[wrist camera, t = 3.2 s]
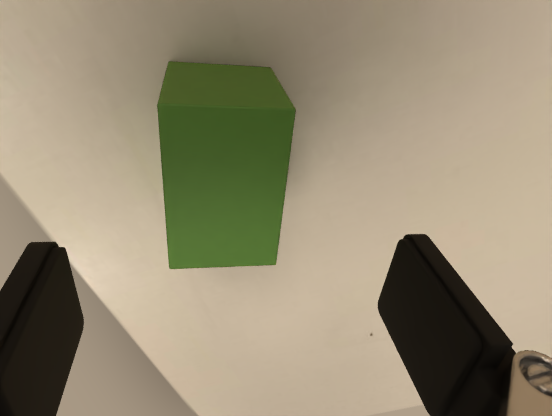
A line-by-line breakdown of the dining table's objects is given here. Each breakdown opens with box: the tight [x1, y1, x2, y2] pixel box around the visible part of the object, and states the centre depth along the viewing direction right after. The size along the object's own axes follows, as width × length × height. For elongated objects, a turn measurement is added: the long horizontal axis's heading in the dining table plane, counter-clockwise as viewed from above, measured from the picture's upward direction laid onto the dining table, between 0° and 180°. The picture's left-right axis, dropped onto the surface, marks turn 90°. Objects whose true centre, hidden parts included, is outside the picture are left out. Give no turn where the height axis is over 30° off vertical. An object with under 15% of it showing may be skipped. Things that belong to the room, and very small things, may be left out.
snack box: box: [157, 61, 296, 269], centre depth 17 cm, size 4×7×6 cm, turn 174°
